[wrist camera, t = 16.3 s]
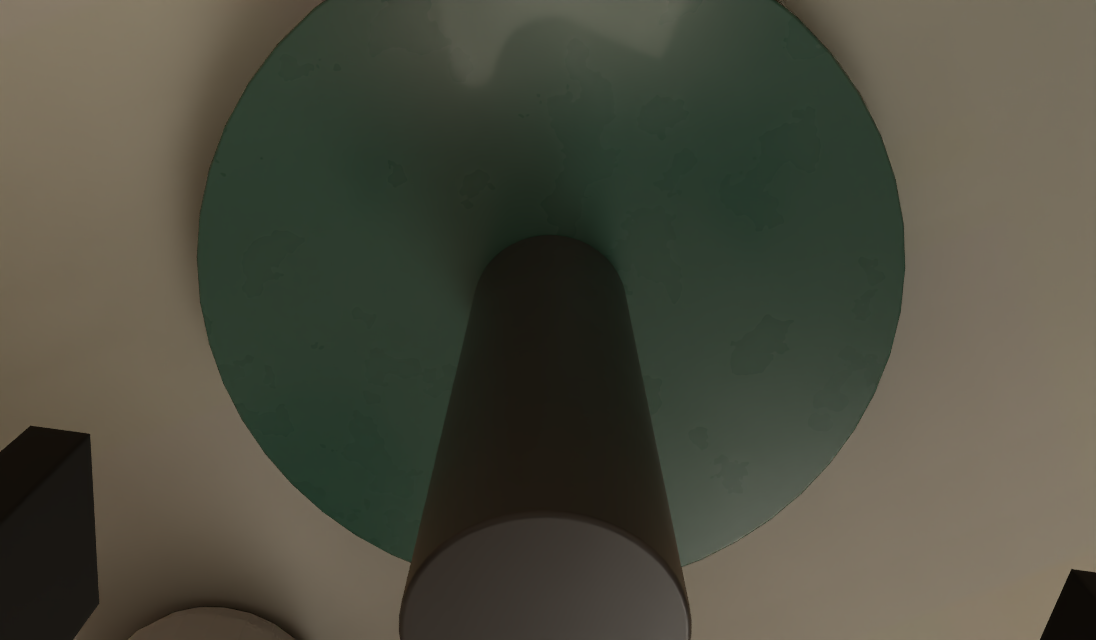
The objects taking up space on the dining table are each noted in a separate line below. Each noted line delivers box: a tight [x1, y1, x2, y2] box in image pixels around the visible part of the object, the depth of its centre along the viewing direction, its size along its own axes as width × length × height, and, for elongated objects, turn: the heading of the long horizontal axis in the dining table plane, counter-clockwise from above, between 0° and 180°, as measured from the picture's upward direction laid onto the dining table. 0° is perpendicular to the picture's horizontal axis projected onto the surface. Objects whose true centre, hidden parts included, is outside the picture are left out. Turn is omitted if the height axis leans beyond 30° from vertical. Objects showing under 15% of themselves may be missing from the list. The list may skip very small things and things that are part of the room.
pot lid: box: [197, 0, 905, 640], centre depth 17 cm, size 17×17×12 cm
